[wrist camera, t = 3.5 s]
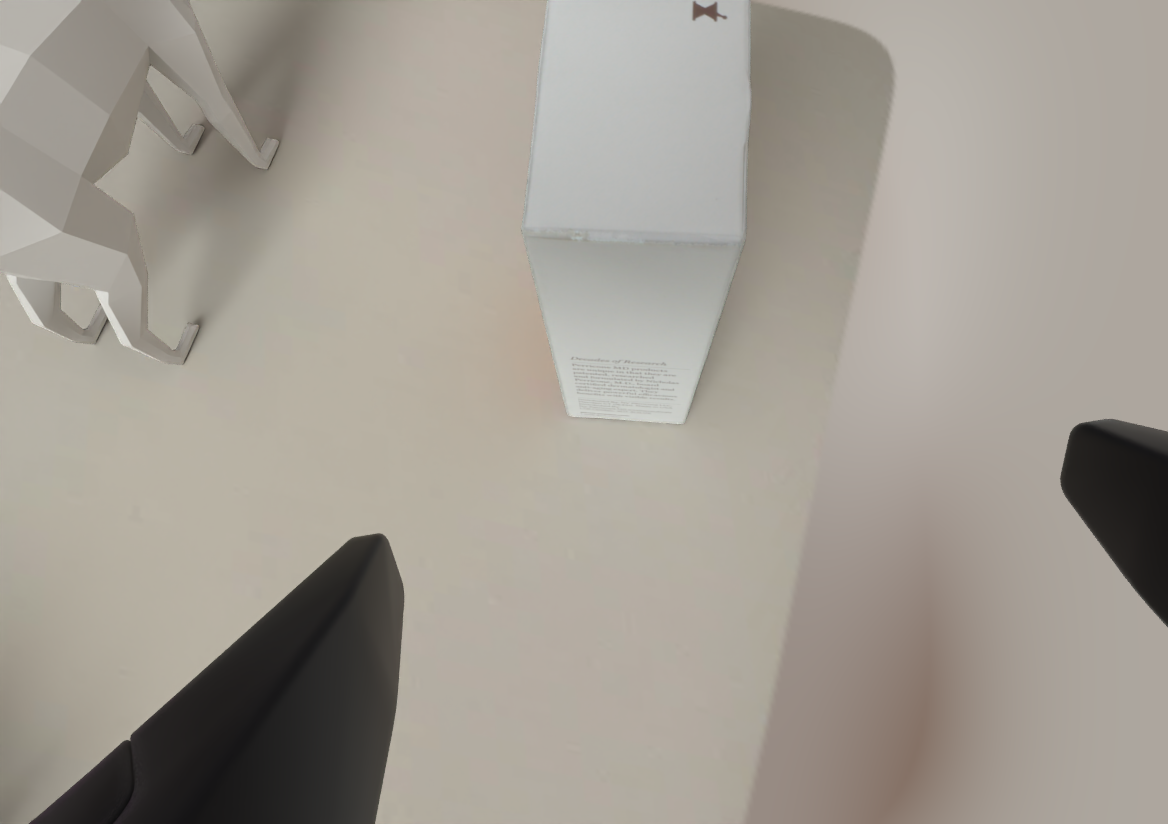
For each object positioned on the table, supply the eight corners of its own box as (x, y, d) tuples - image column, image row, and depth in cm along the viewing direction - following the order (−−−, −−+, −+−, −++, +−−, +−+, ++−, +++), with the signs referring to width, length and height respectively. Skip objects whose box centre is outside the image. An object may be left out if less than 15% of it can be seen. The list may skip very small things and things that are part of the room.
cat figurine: (324, 62, 29) (71, -432, 15) (117, 527, 23) (-573, 387, 10) (227, 46, 29) (-101, -448, 16) (1, 496, 24) (-808, 323, 10)
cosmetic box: (576, 266, 25) (546, -30, 14) (692, 272, 25) (759, -25, 14) (562, 423, 24) (513, 230, 12) (686, 431, 23) (757, 242, 12)
